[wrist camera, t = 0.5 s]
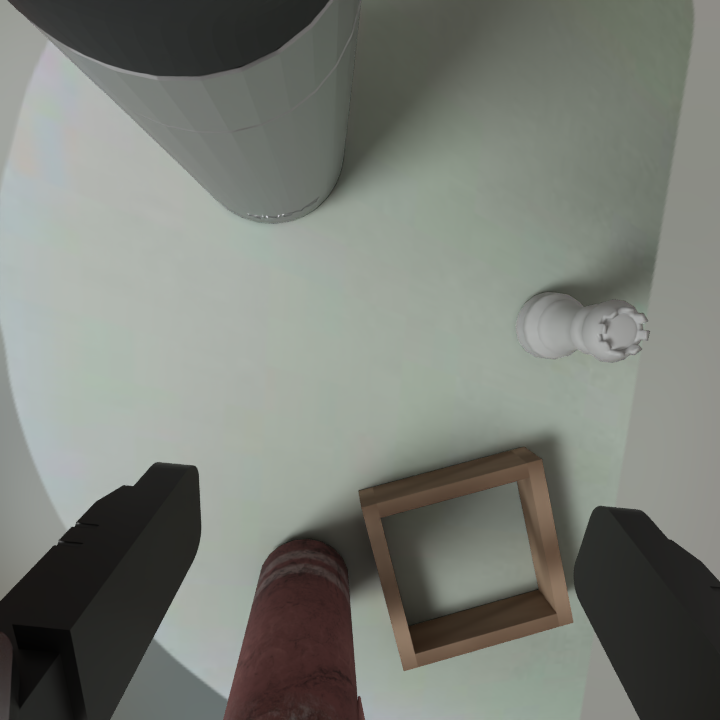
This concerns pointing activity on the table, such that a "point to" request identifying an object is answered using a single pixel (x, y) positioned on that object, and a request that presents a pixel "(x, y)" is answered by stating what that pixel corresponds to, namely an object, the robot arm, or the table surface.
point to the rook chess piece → (579, 328)
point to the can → (298, 641)
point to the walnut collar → (494, 618)
